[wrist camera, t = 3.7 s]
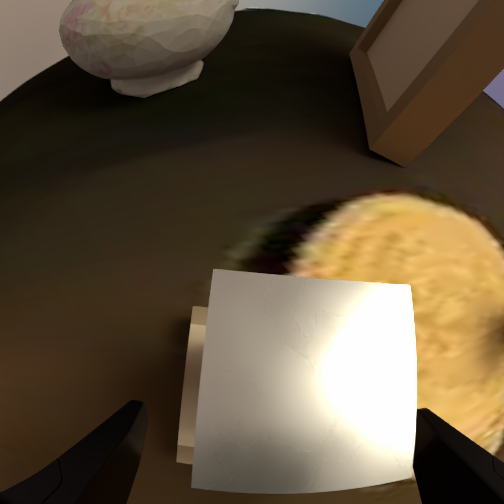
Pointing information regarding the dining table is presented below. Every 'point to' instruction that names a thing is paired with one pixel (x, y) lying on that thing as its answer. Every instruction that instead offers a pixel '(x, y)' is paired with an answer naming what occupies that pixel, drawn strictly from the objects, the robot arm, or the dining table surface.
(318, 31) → the dining table surface
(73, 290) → the dining table surface
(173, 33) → the ceramic pitcher
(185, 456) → the pocket frame
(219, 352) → the metal block
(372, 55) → the photo frame
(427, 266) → the dining table surface
